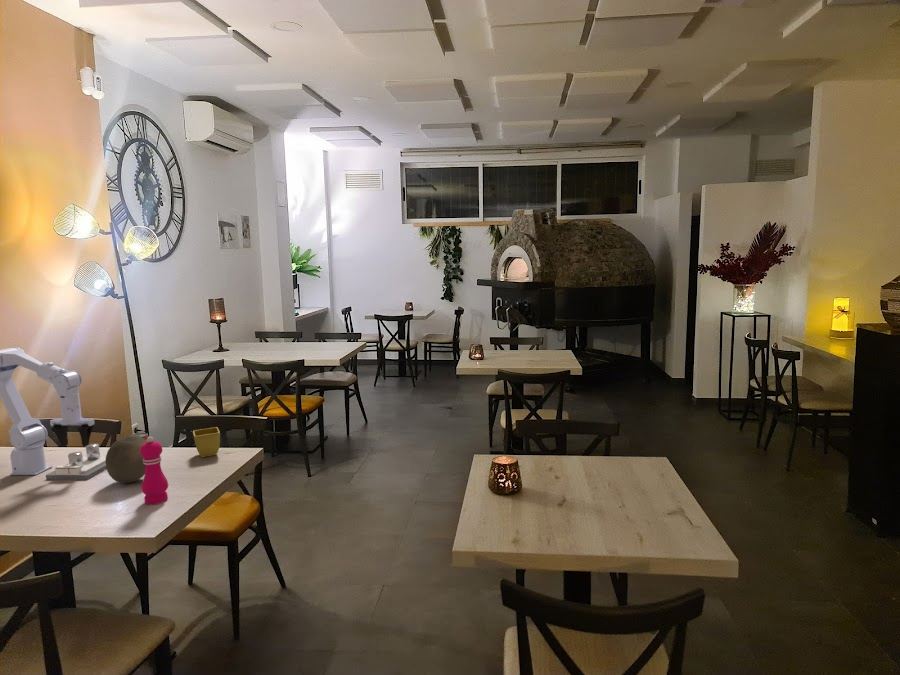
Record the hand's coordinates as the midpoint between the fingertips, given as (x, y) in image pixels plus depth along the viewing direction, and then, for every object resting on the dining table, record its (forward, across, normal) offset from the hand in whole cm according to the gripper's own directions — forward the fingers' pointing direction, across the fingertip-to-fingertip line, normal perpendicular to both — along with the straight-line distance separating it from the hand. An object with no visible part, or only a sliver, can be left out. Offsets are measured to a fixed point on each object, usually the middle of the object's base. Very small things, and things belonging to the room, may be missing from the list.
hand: (75, 445), depth 203 cm
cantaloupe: (+10, +24, -7) cm, 27 cm away
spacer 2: (+8, 0, +8) cm, 11 cm away
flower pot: (+10, +37, +19) cm, 43 cm away
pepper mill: (+10, +41, -22) cm, 48 cm away
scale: (+10, 0, +3) cm, 10 cm away
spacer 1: (+8, 0, -1) cm, 8 cm away
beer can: (+10, +20, +5) cm, 23 cm away
